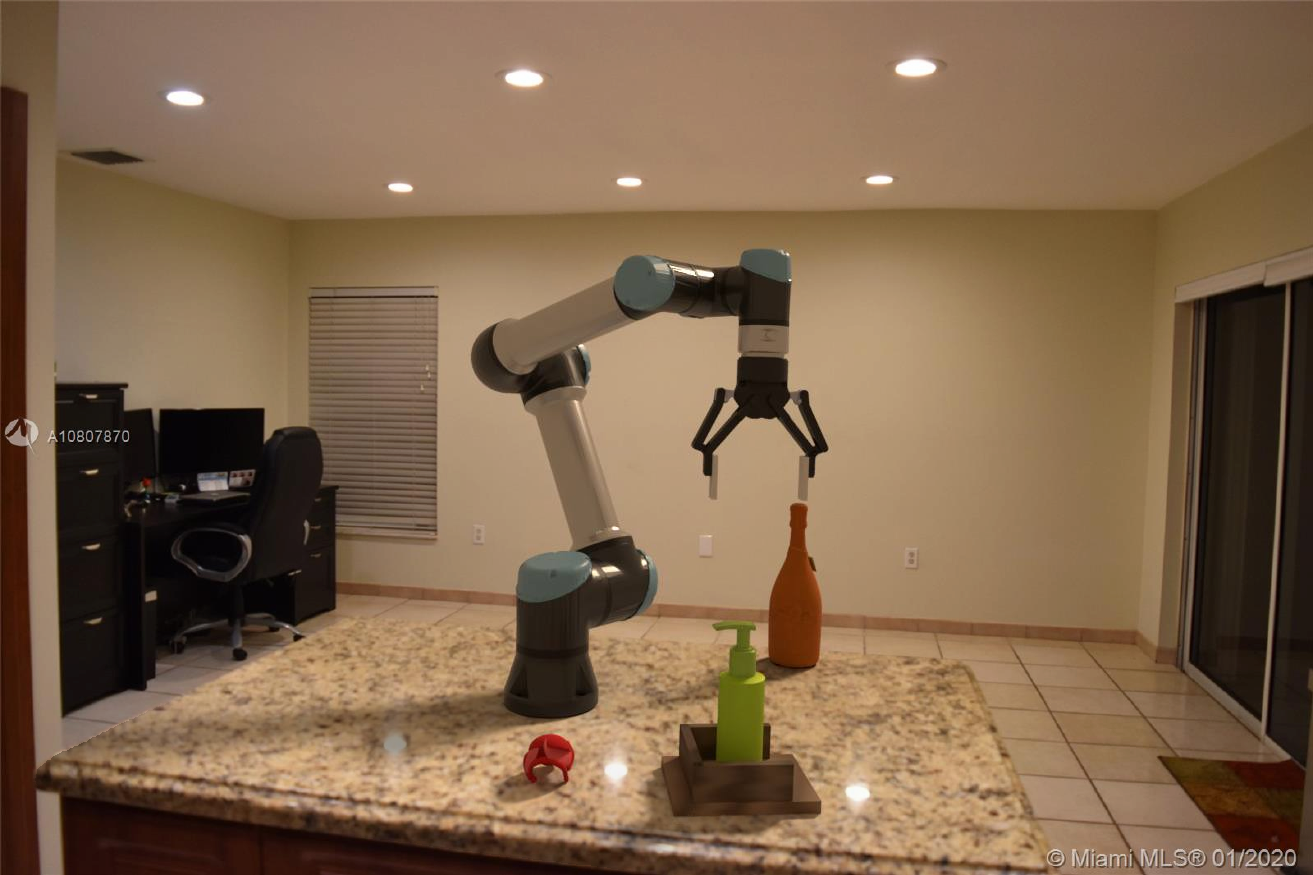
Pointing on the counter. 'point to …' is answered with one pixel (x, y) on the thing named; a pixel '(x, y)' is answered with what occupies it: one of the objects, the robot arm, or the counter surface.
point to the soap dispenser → (740, 700)
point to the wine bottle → (795, 602)
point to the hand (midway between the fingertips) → (757, 499)
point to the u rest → (733, 779)
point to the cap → (549, 755)
